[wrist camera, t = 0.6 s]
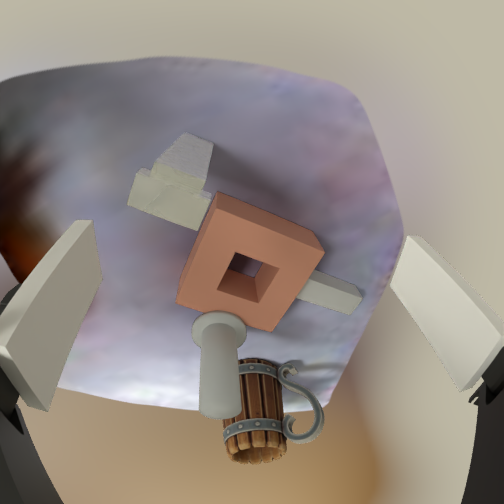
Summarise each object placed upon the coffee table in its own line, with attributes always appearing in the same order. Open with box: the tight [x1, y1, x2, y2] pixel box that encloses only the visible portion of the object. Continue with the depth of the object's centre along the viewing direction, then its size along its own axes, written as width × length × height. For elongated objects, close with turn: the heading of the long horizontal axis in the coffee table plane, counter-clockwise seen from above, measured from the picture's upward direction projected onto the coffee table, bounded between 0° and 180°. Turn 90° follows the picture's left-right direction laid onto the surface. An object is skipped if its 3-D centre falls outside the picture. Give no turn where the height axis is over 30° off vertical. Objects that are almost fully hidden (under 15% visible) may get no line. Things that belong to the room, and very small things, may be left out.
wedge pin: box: [127, 132, 214, 231], centre depth 23 cm, size 4×3×15 cm
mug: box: [223, 359, 324, 464], centre depth 40 cm, size 16×11×15 cm
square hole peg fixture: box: [175, 191, 363, 419], centre depth 31 cm, size 22×17×16 cm
